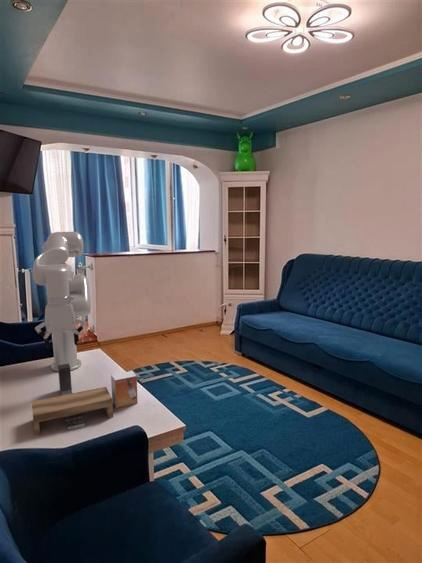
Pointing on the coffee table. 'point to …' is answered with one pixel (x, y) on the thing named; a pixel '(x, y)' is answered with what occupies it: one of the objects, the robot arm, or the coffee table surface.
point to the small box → (124, 389)
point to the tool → (65, 380)
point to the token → (75, 423)
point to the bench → (71, 405)
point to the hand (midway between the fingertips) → (62, 346)
